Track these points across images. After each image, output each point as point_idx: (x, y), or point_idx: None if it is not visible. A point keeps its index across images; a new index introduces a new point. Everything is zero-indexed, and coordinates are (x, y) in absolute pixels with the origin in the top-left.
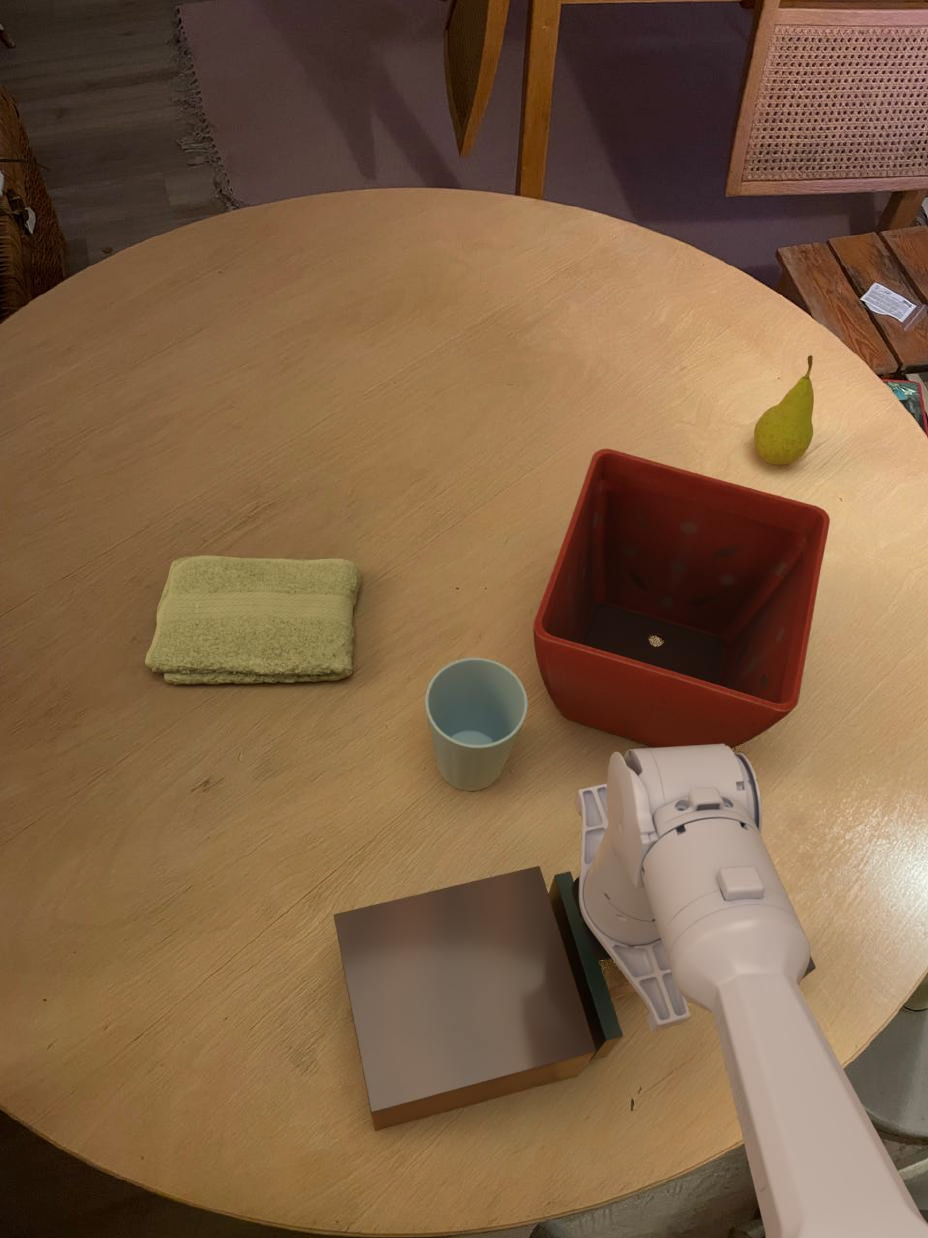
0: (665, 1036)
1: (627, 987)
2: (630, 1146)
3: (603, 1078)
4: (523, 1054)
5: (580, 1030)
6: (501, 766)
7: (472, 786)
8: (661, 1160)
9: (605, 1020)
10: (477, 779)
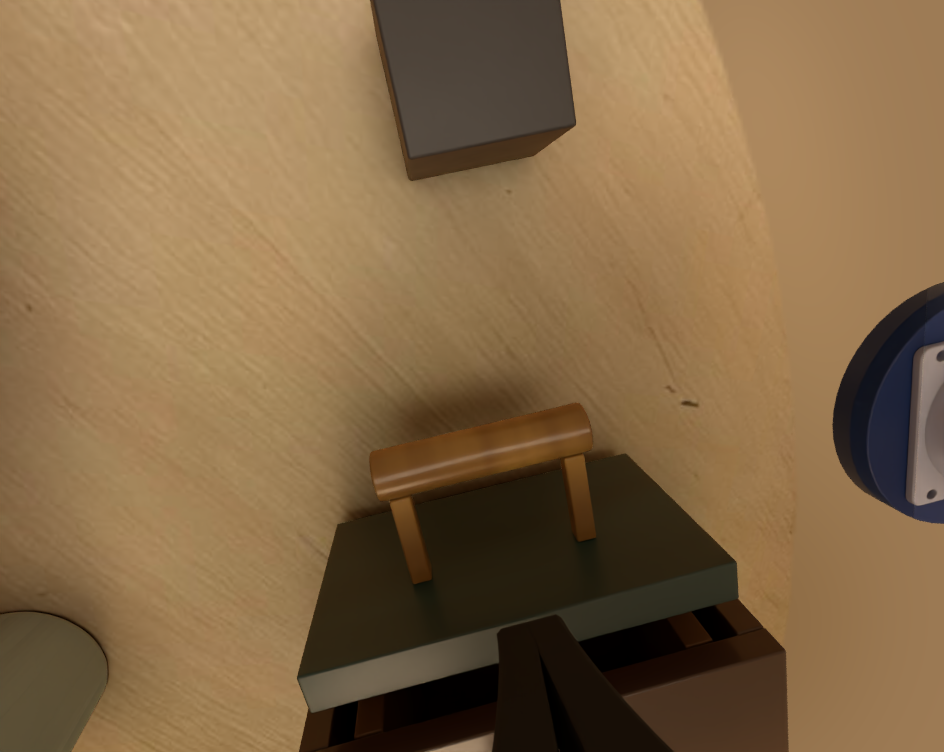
0: (591, 332)
1: (575, 486)
2: (747, 412)
3: (644, 447)
4: None
5: (732, 683)
6: (11, 693)
7: (90, 692)
8: (776, 365)
9: (696, 601)
10: (62, 728)
